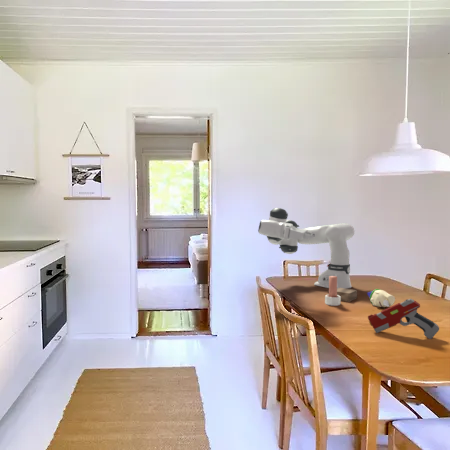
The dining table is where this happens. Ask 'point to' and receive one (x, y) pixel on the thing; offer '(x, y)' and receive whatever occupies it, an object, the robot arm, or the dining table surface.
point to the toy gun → (400, 311)
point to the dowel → (332, 286)
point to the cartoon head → (381, 298)
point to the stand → (347, 294)
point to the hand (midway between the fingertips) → (314, 236)
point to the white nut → (332, 300)
